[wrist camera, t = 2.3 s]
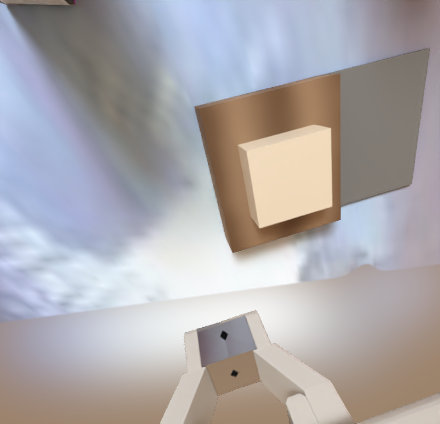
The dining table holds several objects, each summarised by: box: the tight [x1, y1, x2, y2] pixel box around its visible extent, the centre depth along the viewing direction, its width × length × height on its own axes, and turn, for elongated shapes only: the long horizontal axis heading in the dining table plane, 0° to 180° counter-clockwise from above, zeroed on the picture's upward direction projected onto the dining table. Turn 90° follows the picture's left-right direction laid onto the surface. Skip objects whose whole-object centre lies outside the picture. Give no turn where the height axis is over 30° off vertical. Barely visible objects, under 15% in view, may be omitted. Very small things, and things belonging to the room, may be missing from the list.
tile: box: [238, 125, 332, 228], centre depth 23 cm, size 7×7×2 cm
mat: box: [324, 48, 430, 205], centre depth 28 cm, size 11×14×1 cm
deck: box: [195, 73, 341, 253], centre depth 25 cm, size 12×14×3 cm
